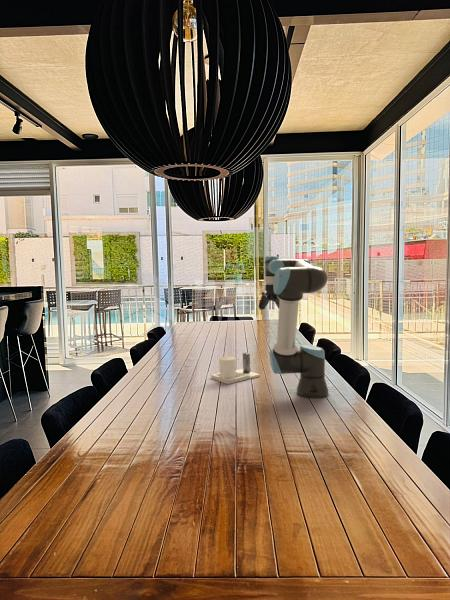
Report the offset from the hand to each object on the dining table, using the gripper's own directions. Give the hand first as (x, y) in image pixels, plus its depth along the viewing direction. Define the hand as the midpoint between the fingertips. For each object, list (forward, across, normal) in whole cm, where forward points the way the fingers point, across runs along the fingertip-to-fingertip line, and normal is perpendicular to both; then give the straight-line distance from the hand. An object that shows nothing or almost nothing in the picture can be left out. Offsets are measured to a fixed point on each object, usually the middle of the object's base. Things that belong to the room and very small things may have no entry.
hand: (272, 321), depth 241 cm
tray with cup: (+31, +11, +18) cm, 37 cm away
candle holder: (+31, +11, +24) cm, 41 cm away
